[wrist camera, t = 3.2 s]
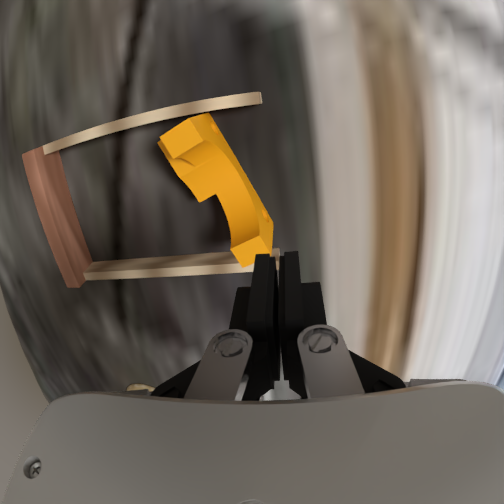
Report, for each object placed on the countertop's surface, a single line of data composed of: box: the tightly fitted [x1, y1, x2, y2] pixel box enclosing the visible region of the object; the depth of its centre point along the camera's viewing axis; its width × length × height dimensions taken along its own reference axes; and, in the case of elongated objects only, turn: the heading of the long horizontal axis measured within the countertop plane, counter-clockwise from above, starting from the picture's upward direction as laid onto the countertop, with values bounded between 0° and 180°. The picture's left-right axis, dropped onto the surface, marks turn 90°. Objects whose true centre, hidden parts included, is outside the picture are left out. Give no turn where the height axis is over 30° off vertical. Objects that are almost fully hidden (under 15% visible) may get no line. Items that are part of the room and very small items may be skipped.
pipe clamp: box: [157, 113, 273, 268], centre depth 25 cm, size 12×4×6 cm, turn 29°
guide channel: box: [22, 92, 280, 288], centre depth 28 cm, size 24×16×4 cm, turn 98°
